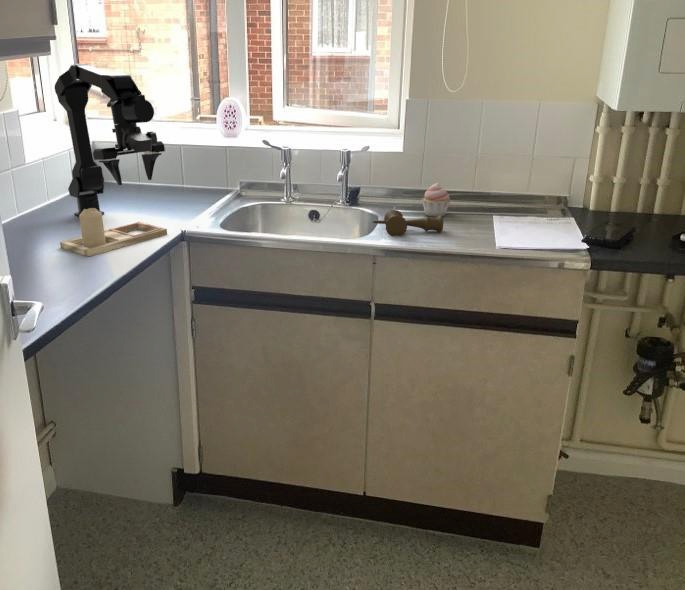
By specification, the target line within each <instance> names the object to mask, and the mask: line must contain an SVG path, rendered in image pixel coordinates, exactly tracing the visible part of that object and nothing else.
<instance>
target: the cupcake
mask: <svg viewBox="0 0 685 590" xmlns="http://www.w3.org/2000/svg"><path fill="white" fill-rule="evenodd" d="M420 200H421V202H422V205H423V211H424V215H425V216H428V217H430V218H434V217H438V216H439V215H442V217H445V216H446V214H447V211H448V208H449V206H450V204H451V202H452V199H450V194H449V193H448V191H447V190H446V189H445V188H444V187H442V186H440V183H439V182H435V183H433V184H432V185H431V186H429V188H428V189H427V190H426V191H425V192H424V196H423V197H422V198H421V199H420Z"/></svg>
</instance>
